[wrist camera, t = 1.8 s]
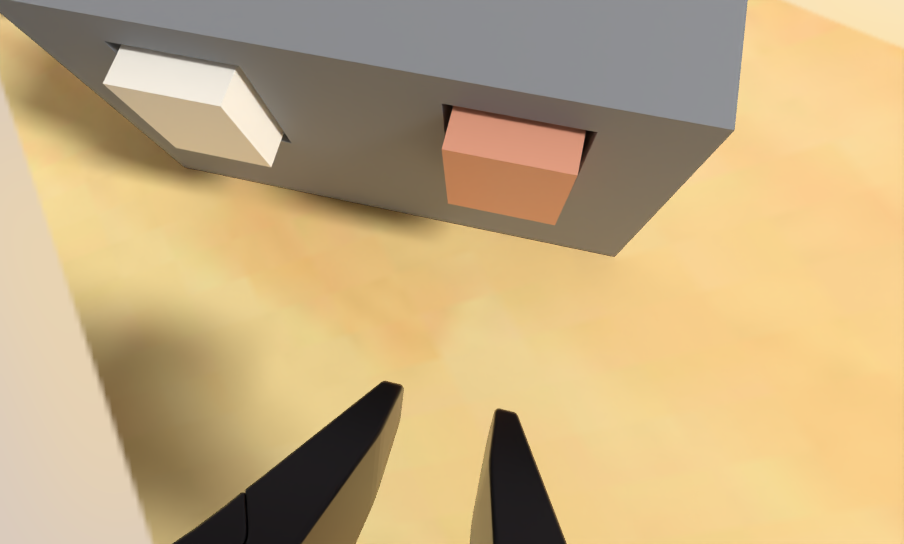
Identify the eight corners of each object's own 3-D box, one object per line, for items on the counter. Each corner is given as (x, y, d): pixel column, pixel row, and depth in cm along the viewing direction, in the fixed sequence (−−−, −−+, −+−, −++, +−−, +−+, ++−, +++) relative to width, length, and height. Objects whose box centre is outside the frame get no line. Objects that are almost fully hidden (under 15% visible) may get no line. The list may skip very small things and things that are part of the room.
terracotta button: (554, 225, 18) (577, 175, 14) (447, 203, 18) (441, 149, 15) (563, 180, 18) (587, 120, 15) (459, 160, 19) (455, 97, 15)
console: (614, 256, 23) (734, 130, 13) (184, 166, 25) (-22, -6, 15) (629, 162, 25) (750, -25, 14) (218, 84, 27) (50, -129, 16)
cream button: (271, 167, 19) (220, 106, 15) (175, 148, 19) (102, 83, 16) (285, 126, 20) (240, 57, 16) (192, 108, 20) (125, 36, 16)
